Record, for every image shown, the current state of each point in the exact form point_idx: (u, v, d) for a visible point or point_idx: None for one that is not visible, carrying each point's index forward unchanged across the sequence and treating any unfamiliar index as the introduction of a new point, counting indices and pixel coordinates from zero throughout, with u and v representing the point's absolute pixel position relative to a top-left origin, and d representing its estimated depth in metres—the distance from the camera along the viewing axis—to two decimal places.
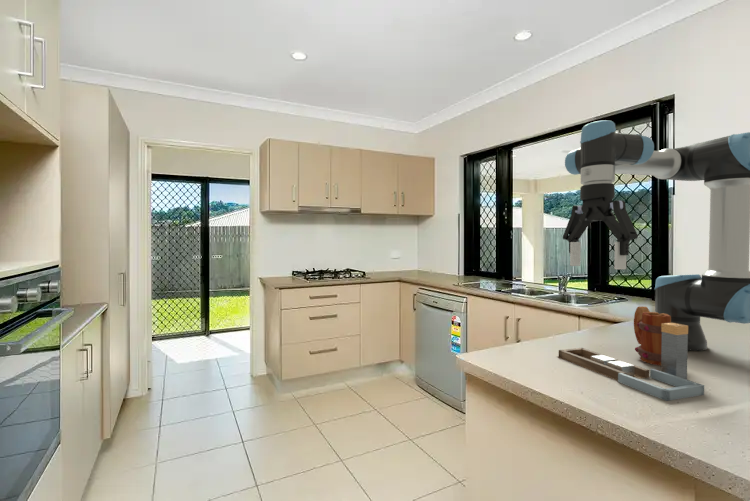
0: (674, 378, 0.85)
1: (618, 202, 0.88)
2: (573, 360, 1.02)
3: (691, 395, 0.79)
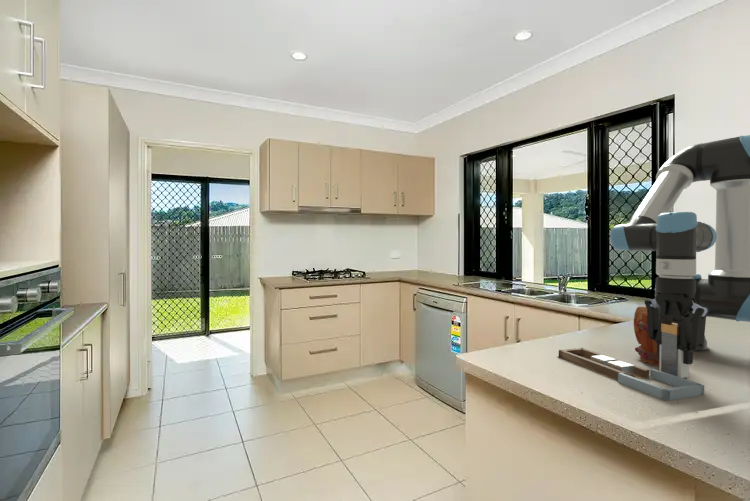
0: (674, 378, 0.85)
1: (703, 311, 0.83)
2: (573, 360, 1.02)
3: (691, 395, 0.79)
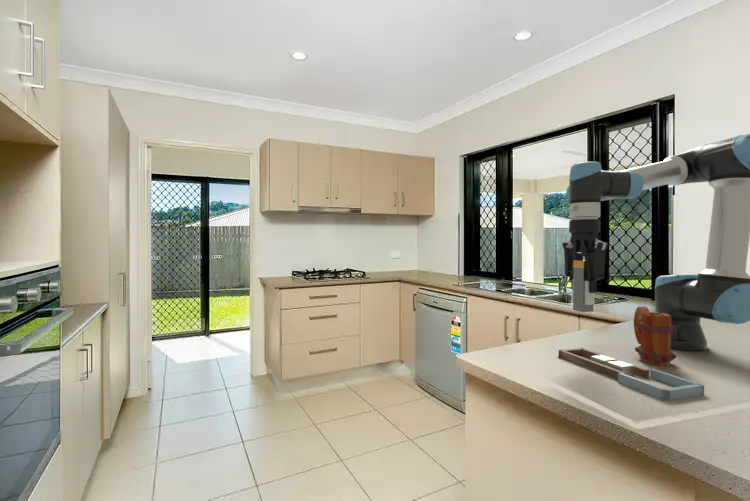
0: (674, 378, 0.85)
1: (602, 245, 0.97)
2: (573, 360, 1.02)
3: (691, 395, 0.79)
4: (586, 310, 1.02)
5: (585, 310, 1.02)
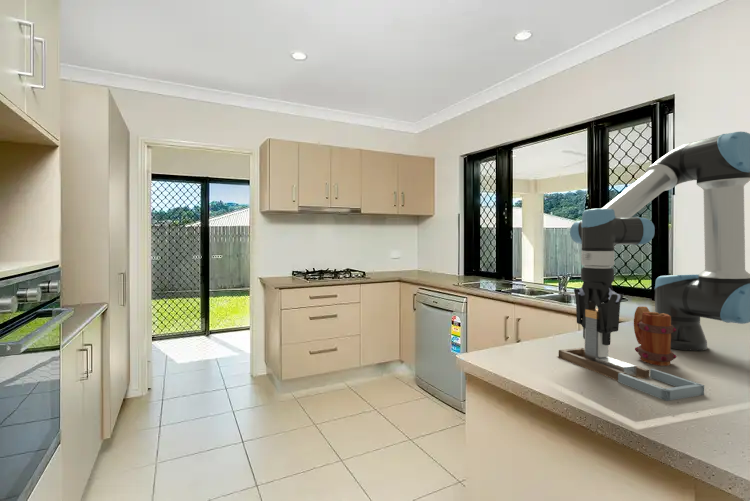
0: (674, 378, 0.85)
1: (616, 297, 0.93)
2: (573, 360, 1.02)
3: (691, 395, 0.79)
4: None
5: None
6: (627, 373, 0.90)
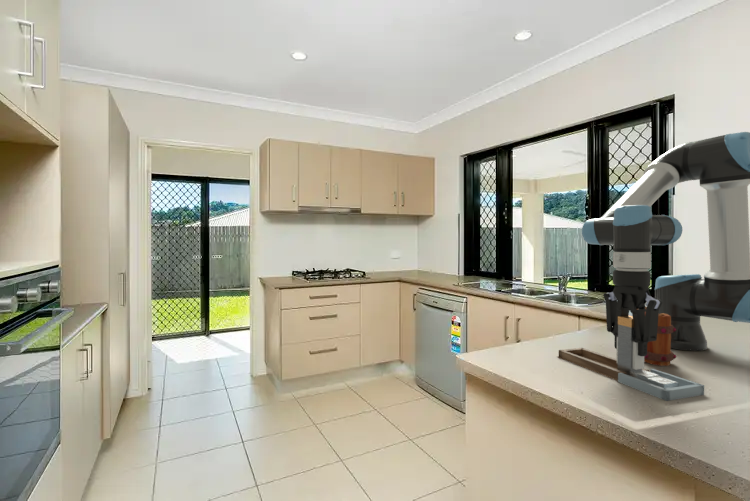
0: (674, 378, 0.85)
1: (655, 303, 0.84)
2: (573, 360, 1.02)
3: (691, 395, 0.79)
4: None
5: None
6: None
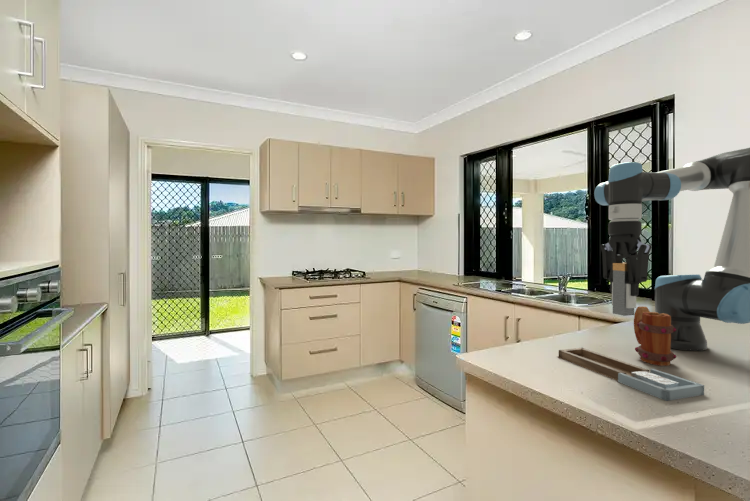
0: (674, 378, 0.85)
1: (645, 247, 0.95)
2: (573, 360, 1.02)
3: (691, 395, 0.79)
4: (627, 314, 1.00)
5: (626, 314, 1.00)
6: None
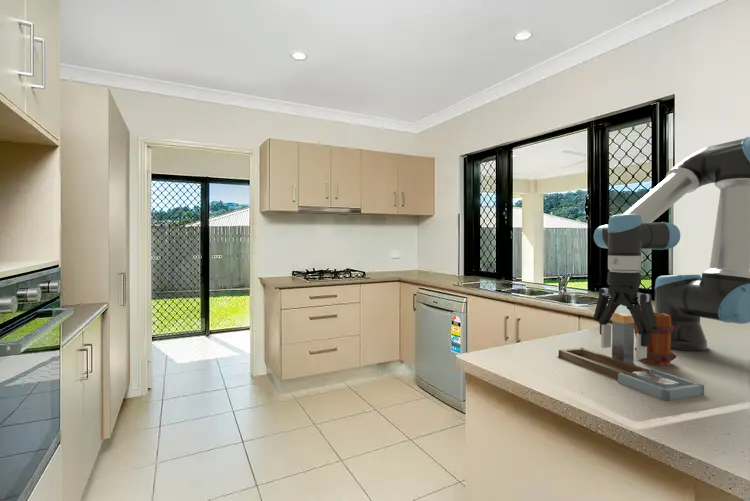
0: (674, 378, 0.85)
1: (645, 296, 0.95)
2: (573, 360, 1.02)
3: (691, 395, 0.79)
4: None
5: None
6: None
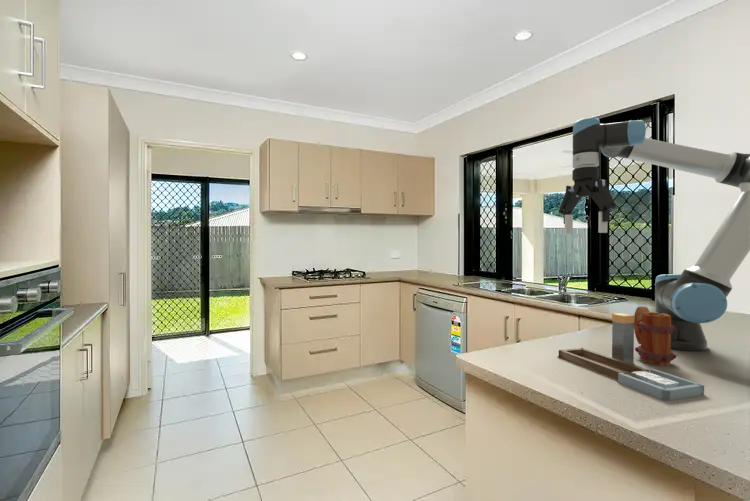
0: (674, 378, 0.85)
1: (601, 181, 1.14)
2: (573, 360, 1.02)
3: (691, 395, 0.79)
4: None
5: None
6: None
